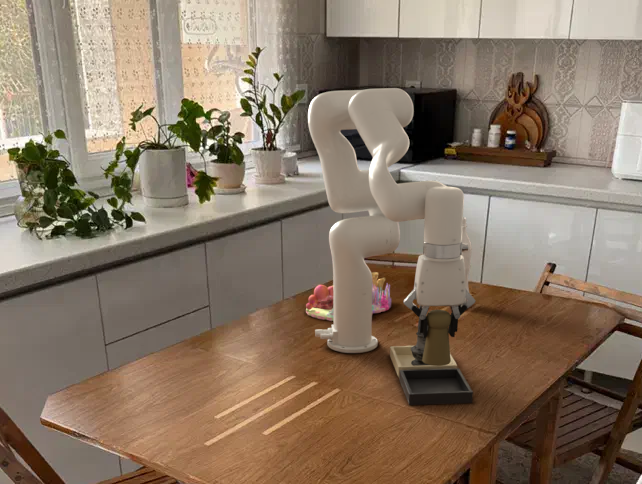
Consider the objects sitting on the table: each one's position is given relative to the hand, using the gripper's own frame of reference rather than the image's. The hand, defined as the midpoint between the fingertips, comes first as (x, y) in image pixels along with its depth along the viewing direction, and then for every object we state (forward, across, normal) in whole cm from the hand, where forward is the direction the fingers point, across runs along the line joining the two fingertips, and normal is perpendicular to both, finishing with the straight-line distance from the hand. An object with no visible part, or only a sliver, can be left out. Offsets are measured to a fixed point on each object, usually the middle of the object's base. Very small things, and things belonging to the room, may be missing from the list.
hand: (437, 334), depth 164 cm
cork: (+6, 0, 0) cm, 6 cm away
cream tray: (+13, 0, -15) cm, 20 cm away
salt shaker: (+13, 0, -15) cm, 20 cm away
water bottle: (+13, -18, -61) cm, 65 cm away
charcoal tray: (+13, 0, 0) cm, 13 cm away
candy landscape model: (+13, +13, -60) cm, 63 cm away
